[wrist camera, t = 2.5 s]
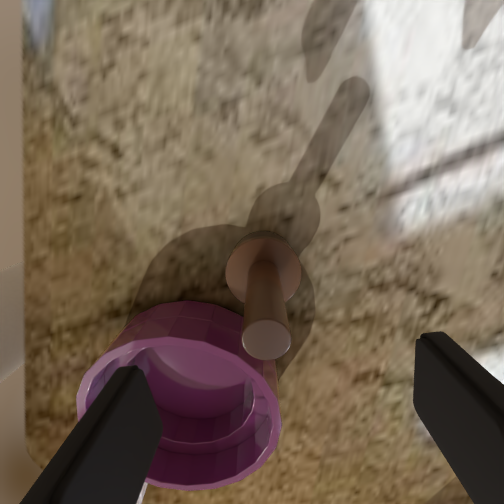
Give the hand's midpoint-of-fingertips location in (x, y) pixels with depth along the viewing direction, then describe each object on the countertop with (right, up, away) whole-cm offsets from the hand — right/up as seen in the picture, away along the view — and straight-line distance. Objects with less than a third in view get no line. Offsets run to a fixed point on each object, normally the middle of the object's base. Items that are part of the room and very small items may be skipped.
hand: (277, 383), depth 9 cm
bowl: (-6, -7, +16) cm, 18 cm away
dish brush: (0, +4, +12) cm, 13 cm away
